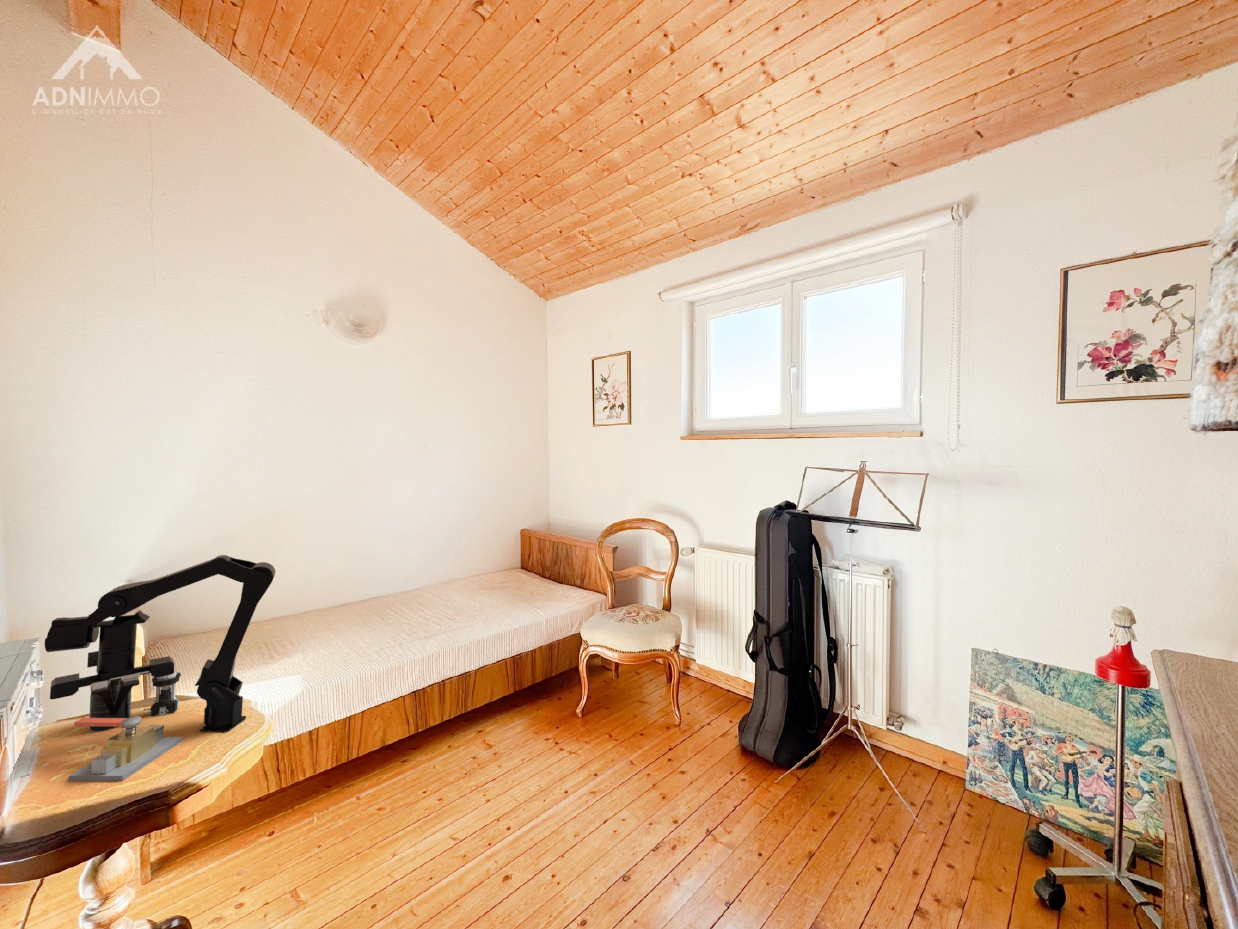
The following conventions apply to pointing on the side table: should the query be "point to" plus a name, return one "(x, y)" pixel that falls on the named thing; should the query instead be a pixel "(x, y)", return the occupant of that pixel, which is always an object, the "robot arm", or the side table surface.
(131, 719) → the lever
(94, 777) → the board
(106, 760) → the valve
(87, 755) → the side table surface
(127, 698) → the supplement bottle
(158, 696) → the push button
